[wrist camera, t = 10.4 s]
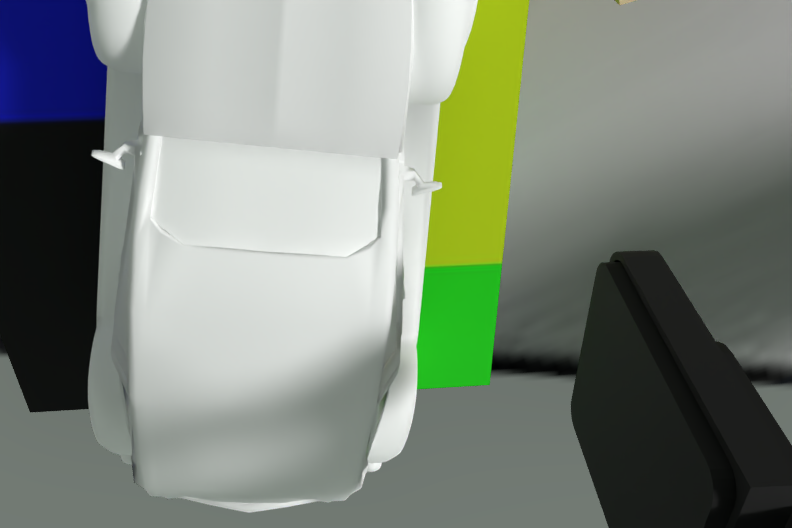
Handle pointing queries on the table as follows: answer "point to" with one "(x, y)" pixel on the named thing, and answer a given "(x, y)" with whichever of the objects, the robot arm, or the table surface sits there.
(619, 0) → the oak block
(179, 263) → the car
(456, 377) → the puzzle toy
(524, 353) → the table surface
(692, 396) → the robot arm
